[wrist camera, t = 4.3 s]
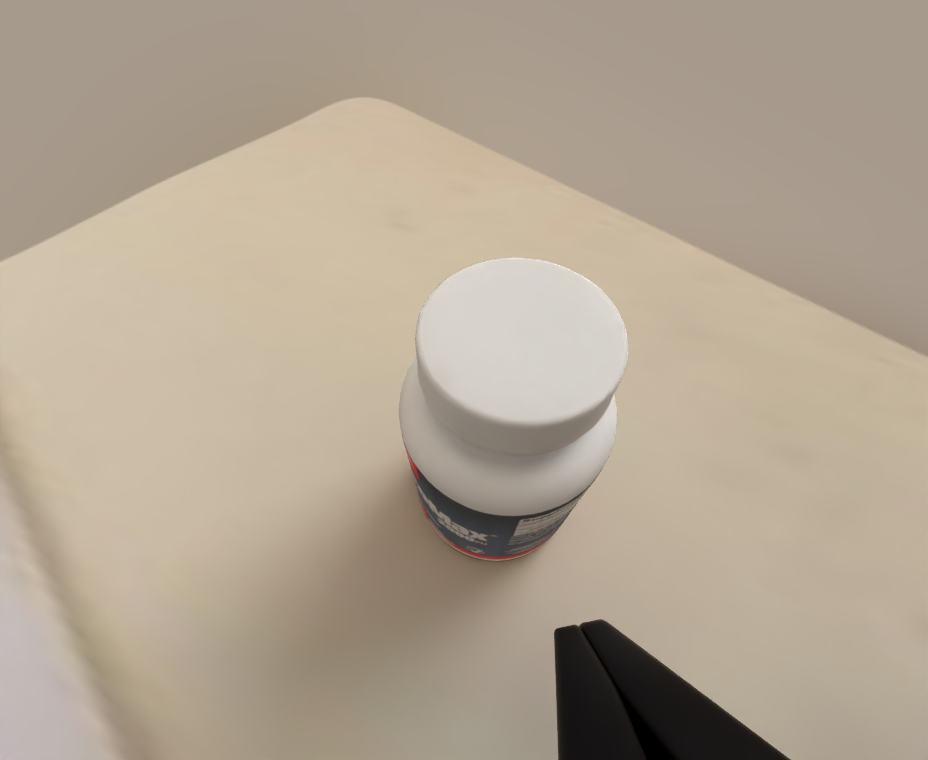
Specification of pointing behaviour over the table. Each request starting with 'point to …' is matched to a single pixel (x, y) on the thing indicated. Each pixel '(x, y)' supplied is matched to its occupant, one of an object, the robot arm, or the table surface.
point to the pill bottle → (510, 402)
